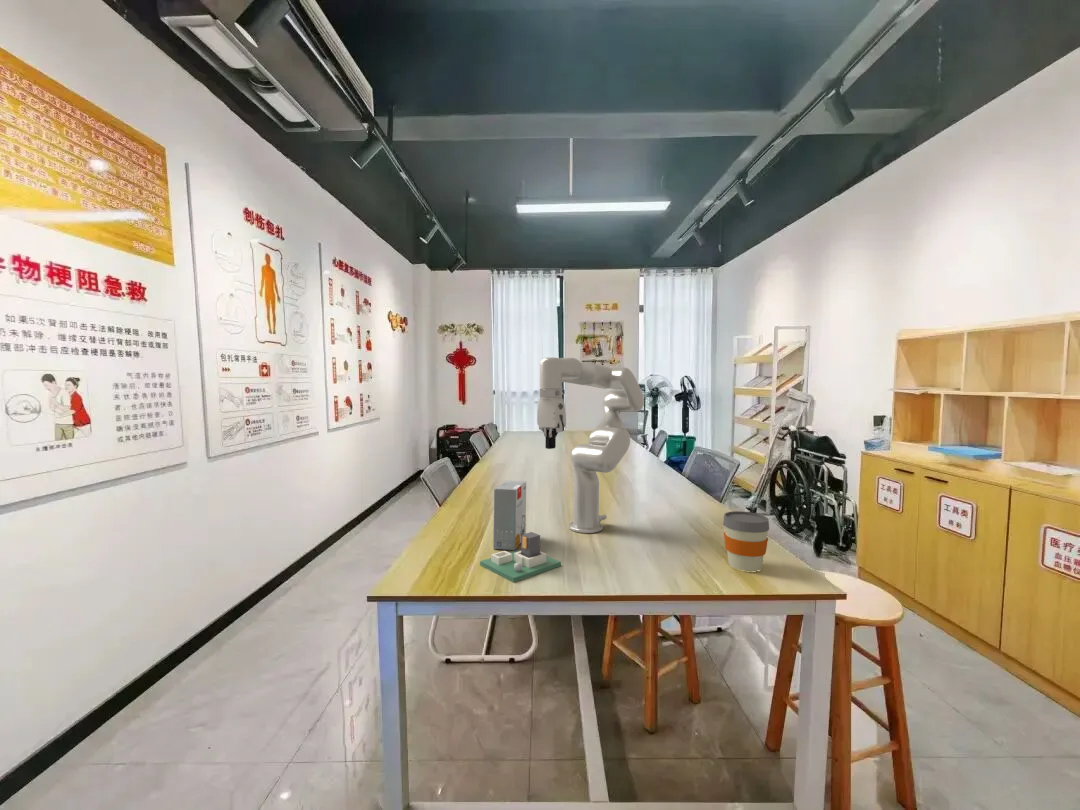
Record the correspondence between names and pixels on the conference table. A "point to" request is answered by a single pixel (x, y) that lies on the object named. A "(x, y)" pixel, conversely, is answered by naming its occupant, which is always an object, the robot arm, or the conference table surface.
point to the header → (529, 559)
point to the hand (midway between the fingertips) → (550, 448)
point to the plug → (530, 544)
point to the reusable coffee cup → (745, 539)
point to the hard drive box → (509, 514)
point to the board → (525, 571)
